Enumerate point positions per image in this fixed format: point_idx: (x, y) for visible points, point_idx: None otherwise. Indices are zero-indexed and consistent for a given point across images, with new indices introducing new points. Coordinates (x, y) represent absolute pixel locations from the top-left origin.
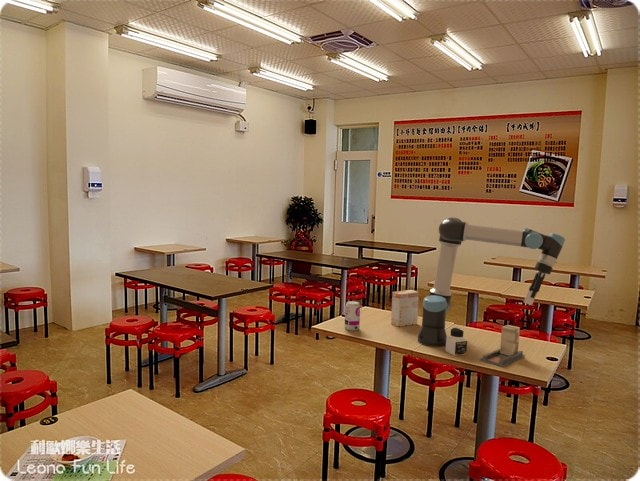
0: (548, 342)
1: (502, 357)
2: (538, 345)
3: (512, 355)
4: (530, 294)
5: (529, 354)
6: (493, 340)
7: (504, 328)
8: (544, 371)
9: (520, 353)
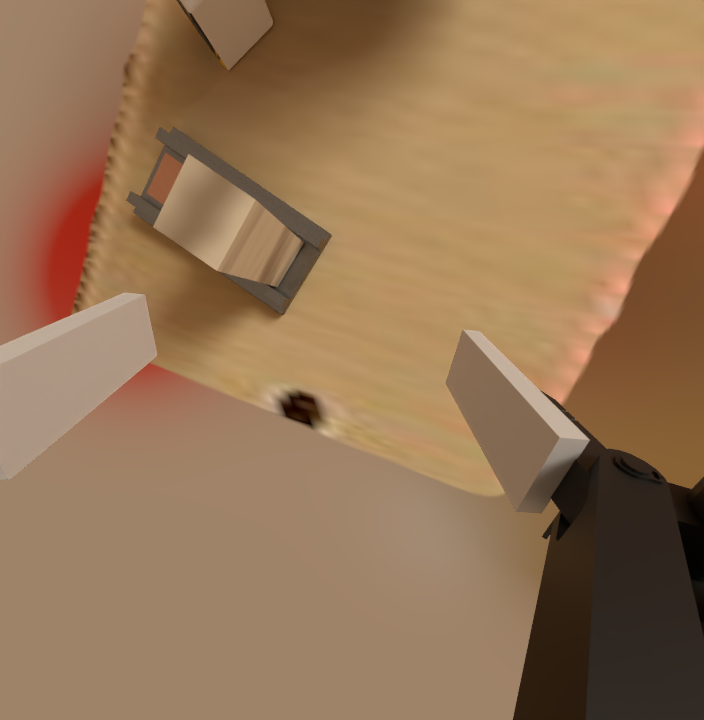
0: None
1: None
2: None
3: None
4: (10, 349)
5: (323, 339)
6: (486, 212)
7: (185, 173)
8: None
9: (264, 294)
